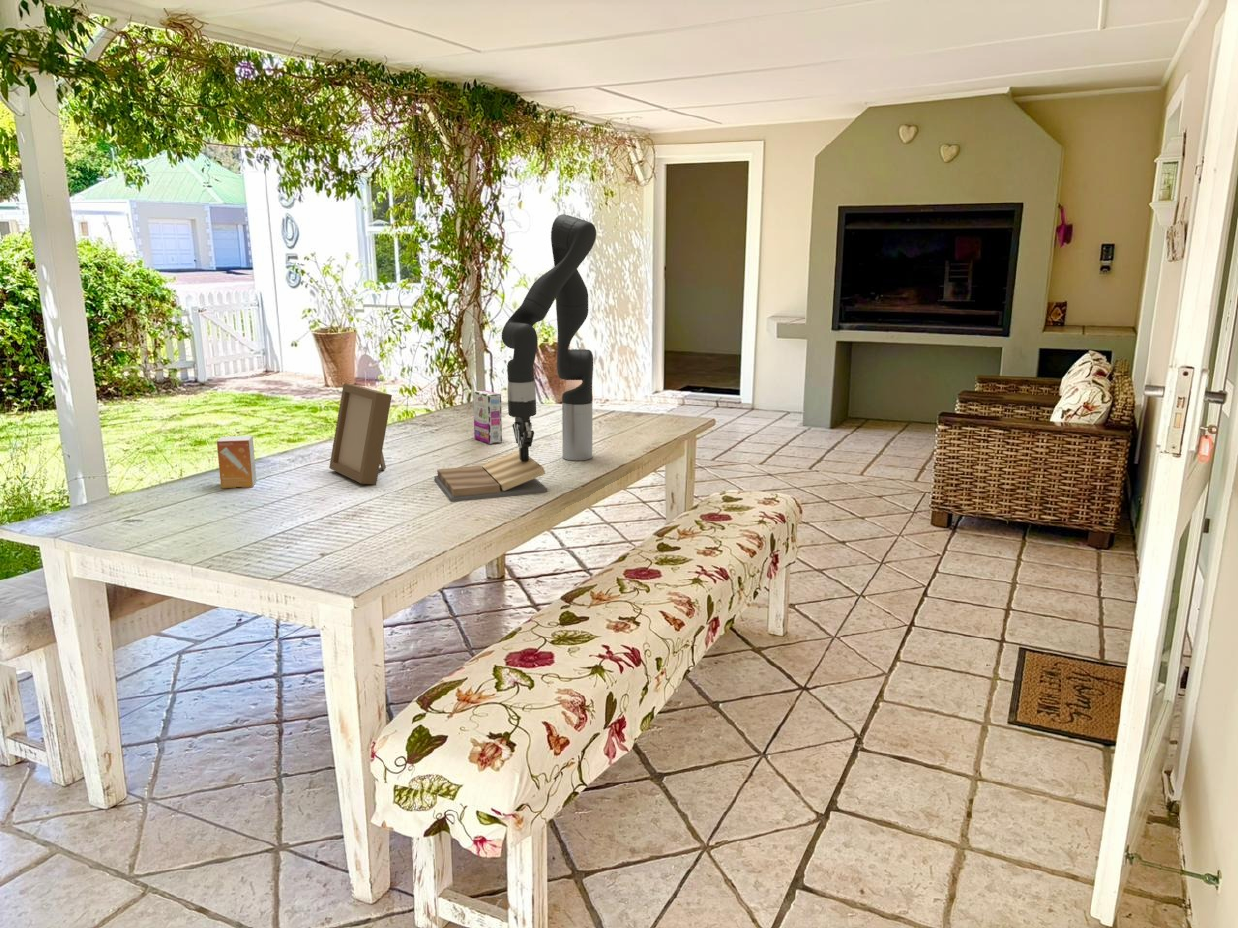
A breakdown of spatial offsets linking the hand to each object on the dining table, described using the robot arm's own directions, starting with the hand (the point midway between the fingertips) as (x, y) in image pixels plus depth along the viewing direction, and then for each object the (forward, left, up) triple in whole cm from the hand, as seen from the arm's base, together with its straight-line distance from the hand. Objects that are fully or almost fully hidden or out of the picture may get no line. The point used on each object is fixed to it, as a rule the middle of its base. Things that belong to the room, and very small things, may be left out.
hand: (524, 460), depth 237 cm
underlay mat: (0, -10, -6) cm, 11 cm away
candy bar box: (-56, +3, -7) cm, 57 cm away
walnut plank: (0, -16, -6) cm, 17 cm away
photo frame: (-23, -39, -7) cm, 45 cm away
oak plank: (0, -3, -3) cm, 4 cm away
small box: (-24, -73, -7) cm, 77 cm away
